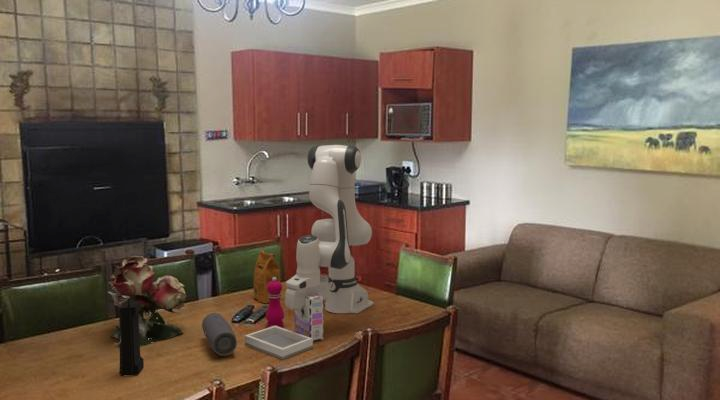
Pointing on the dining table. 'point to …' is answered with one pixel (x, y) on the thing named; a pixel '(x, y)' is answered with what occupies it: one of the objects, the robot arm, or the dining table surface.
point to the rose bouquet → (147, 298)
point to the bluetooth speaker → (219, 334)
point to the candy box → (311, 318)
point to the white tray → (279, 342)
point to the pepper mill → (274, 304)
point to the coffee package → (264, 275)
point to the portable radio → (130, 339)
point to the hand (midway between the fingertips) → (308, 315)
